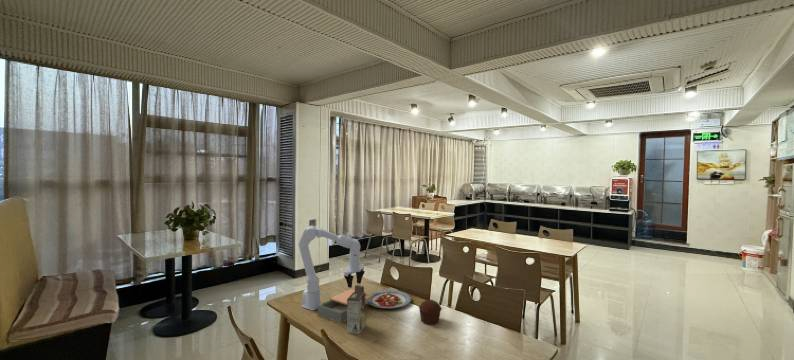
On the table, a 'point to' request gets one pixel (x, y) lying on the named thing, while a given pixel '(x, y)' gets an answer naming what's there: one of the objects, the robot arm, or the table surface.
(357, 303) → the coffee box
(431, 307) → the muffin
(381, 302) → the ceramic plate
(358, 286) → the lid
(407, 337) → the table surface
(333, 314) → the box
